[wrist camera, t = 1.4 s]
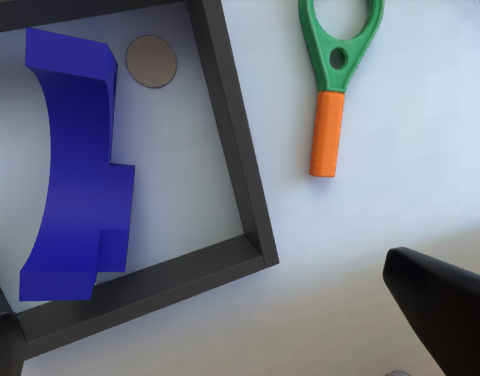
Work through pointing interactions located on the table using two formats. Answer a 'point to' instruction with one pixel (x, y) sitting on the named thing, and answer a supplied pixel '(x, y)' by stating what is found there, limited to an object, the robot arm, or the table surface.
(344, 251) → the table surface
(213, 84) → the dark grey square tray
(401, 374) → the beverage cup
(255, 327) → the table surface
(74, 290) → the blue u-shaped bracket
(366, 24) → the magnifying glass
